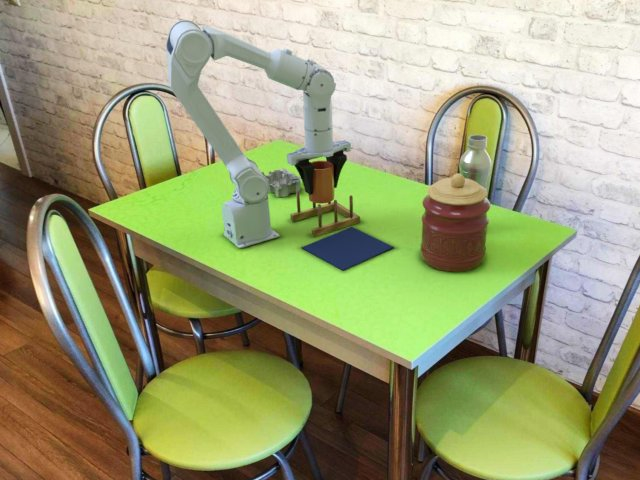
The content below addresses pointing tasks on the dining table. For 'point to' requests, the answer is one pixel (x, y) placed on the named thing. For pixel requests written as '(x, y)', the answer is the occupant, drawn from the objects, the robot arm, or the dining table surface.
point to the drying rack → (335, 206)
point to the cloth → (347, 248)
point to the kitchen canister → (454, 224)
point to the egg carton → (283, 182)
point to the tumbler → (322, 182)
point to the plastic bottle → (476, 161)
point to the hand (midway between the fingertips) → (320, 189)
